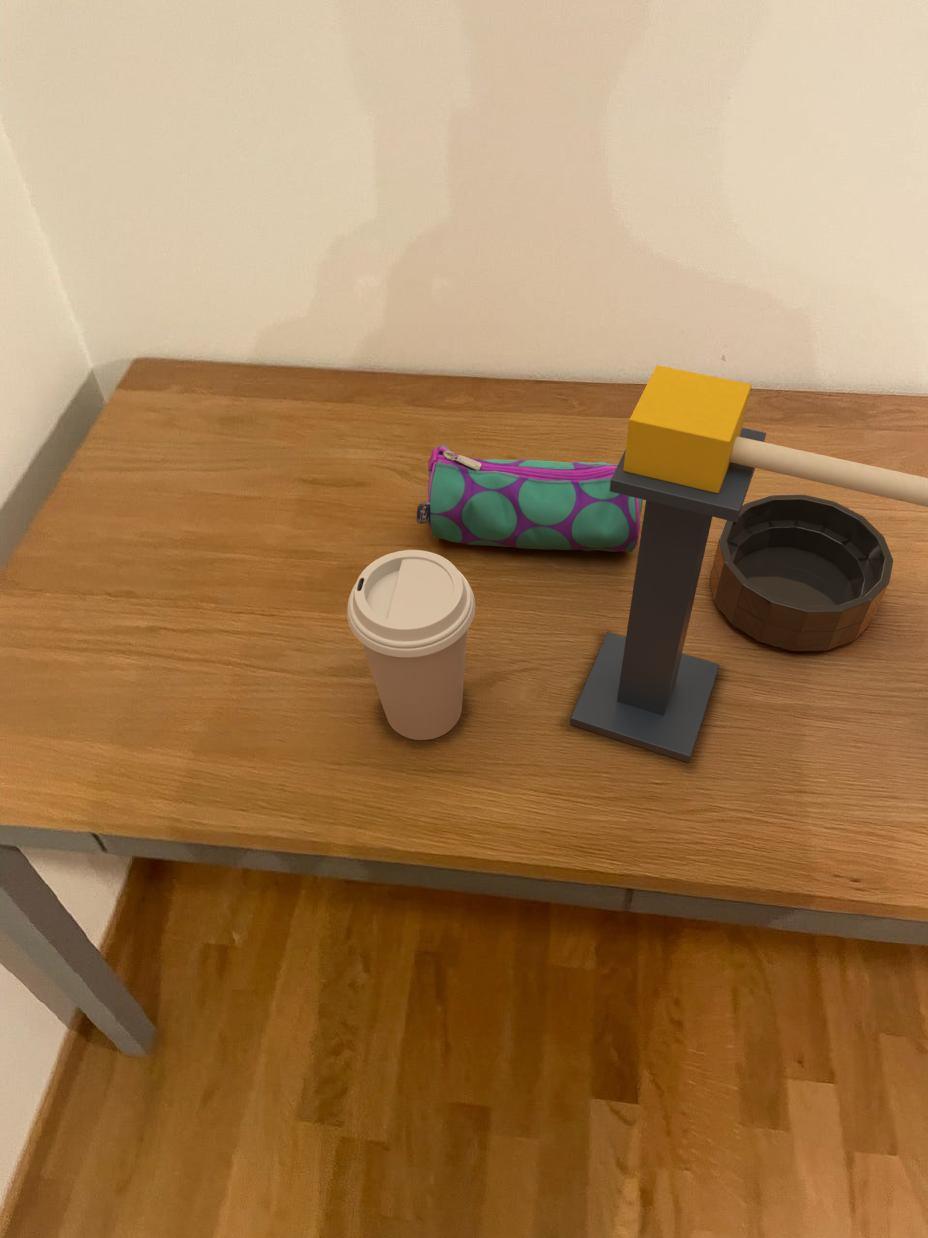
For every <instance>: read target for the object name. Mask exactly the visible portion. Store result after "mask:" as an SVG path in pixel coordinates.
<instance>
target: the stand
mask: <svg viewBox="0 0 928 1238" xmlns="http://www.w3.org/2000/svg"><path fill="white" fill-rule="evenodd" d="M740 437H742V438H747V439H751V440H756V441H761V442H766V437H767V432H765V431H762V430H761V431H760V430H756V429H752V428H747V427H743V426H742V430H741V434H740ZM625 451H626V448H625V450H624V452H623V453H622V455H621V457H620V459H619V461H618V463H617V465H618V466H617V468H616V470H615V472H614V474H613V476H612V478H611V480H610V490H609V491H610V492H614V493H618V494H622V495H626V496H630V497H634V498H638V499H643V501H645V504H644V511H643V518H642V524H641V525H642V526H641V531H640V539H639V547H638V551H637V552H638V553H637V559H636V566H635V573H634V580H633V586H632V593H631V601H630V607H629V615H628V622H627V629H626V636H623V635H620V634H616V633H613V632H610V631H607V632H606V634H605V637H604V639H603V641H602V644H601V646H600V648H599V651H598V653H597V655H596V657H595V660H594V662H593V664H592V667H591V669H590V672H589V674H588V676H587V679H586V681H585V683H584V685H583V688H582V690H581V692H580V695H579V697H578V700H577V702H576V704H575V707H574V709H573V712H572V714H571V716H570V723H569V725H571V726H573V727H577V728H580V729H582V730H586V731H589V732H592V733H594V734H598V735H601V736H605V737H608V738H609V739H610V738H611V739H613V740H617V741H620V742H623V743H626V744H629V745H631V746H635V747H638V748H642V749H644V750H647V751H651V752H654V753H657V754H660V755H663V756H666V757H669V758H672V759H675V760H678V761H681V762H684V763H687V764H689V763H690V761H691V758H692V755H693V751H694V749H695V746H696V743H697V738H698V736H699V733H700V729H701V727H702V724H703V720H704V717H705V714H706V710H707V707H708V705H709V701H710V698H711V694H712V692H713V689H714V685H715V682H716V679H717V676H718V673H719V669H720V663H716V662H713V661H710V660H706V659H703V658H699V657H696V656H693V655H688V654H685V653H683V651H684V647H685V644H686V638H687V633H688V630H689V626H690V625H689V624H690V620H691V615H692V611H693V606H694V602H695V597H696V593H697V588H698V584H699V579H700V575H701V570H702V566H703V562H704V557H705V552H706V548H707V543H708V539H709V535H710V530H711V525H712V521H713V518H716V519H720V520H725V521H726V520H728V521H732V522H737V520H738V517H739V514H740V511H741V508H742V505H743V504H744V503H745V499H746V496H747V493H748V491H749V488H750V485H751V482H752V479H753V477H754V474H755V470H756V468H754V467H749V466H745V465H740V464H736V463H732V462H730V464H729V467H728V469H727V472H726V475H725V477H724V480H723V483H722V486H721V488H720V491H719V493H713V492H709V491H705V490H701V489H697V488H692V487H688V486H684V485H680V484H676V483H671V482H667V481H663V480H659V479H655V478H650V477H646V476H642V475H638V474H634V473H629V472H625V471H624V470H623V469H624V460H625Z"/></svg>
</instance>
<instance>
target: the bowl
mask: <svg viewBox="0 0 928 1238" xmlns="http://www.w3.org/2000/svg"><path fill="white" fill-rule="evenodd" d="M893 565H894V558H893V556H892V553H891V550H890V548H889V546H888V543H887V541H886V537H884V535H883V534H882V533H881V532H880V531H879V530H878V529H877V528H876V527H875V526H874V525H872V523H871V522H869V520H868V519H867V518H866V517H865V516H863V515H862V514H860V513H857V512H856V511H854V510H851V509H850V508H848V507H846V506H844V505H842V504H840V503H838V502H836V501H834V500H829V499H825V498H821V497H817V496H812V495H809V494H804V493H803V494H798V493H797V494H770V495H767V496H764V497H761V498H757V499H755V500H752V501H748V502H744V503H743V505H742V508H741V511H740V514H739V517H738V520H737V522H732V521H728V520H725V521H724V524H723V527H722V529H721V533H720V535H719V537H718V542H717V546H716V550H715V554H714V558H713V562H712V567H711V570H710V575H709V585H710V589H711V593H712V598H713V602H714V604H715V605H716V606H717V608H718V609H719V610H720V611H721V613H722V614H723V615H724V616H725V618H726V619H727V620H728V622H729V623H730V624H731V625H732V626H734V628H737V629H738V630H740V631H741V632H743V633H745V634H747V635H748V636H749V637H751V638H753V639H754V640H755V641H757V642H759V643H762V644H765V645H770V646H773V647H776V648H780V649H784V650H788V651H790V652H821V651H822V652H825V651H829V650H832V649H834V648H837V647H840V646H843V645H845V644H849V643H851V642H853V641H856V639H857V638H858V637H859V636H860V635H861V634H862V633H863V632H864V631H865V630H866V629H867V628H868V627H869V626H870V625H871V624H872V622H873V619H874V618H875V616H876V613H877V611H878V609H879V607H880V605H881V602H882V600H883V599H884V595H885V593H886V591H887V590H888V587H889V585H890V581H891V576H892V571H893Z"/></svg>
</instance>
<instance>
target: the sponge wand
mask: <svg viewBox="0 0 928 1238" xmlns="http://www.w3.org/2000/svg"><path fill="white" fill-rule="evenodd" d="M751 390H752V384H751V383H747V382H742V381H738V380H733V379H732V380H731V379H728V378H722V377H717V376H712V375H708V374H703V373H697V372H693V371H687V370H683V369H678V368H672V367H668V366H663V365H659V364H657V365H656V366H655V368H654V369H653V372H652V374H651V375H650V377H649V379H648V381H647V382H646V386H645V388H644V390H643V392H642V393H641V396H639V400H638V401H637V403H636V405H635V407H634V409H633V412H632V413H631V415H630V417H629V419H628V425H627V426H628V427H627V434H626V435H627V436H626V443H625V449H626V451H625V450H624V451H625V460H624V469H623V470H624V471H625V472H629V473H634V474H638V475H642V476H646V477H650V478H655V479H659V480H663V481H667V482H671V483H676V484H680V485H684V486H688V487H692V488H697V489H701V490H705V491H709V492H713V493H719V491H720V488H721V486H722V483H723V480H724V477H725V475H726V472H727V469H728V467H729V464H730V462H732V463H736V464H740V465H745V466H749V467H754V468H755V469H758V470H762V471H768V472H772V473H776V474H781V475H785V476H790V477H793V478H798V479H802V480H807V481H811V482H816V483H820V484H825V485H829V486H833V487H837V488H842V489H847V490H850V491H855V492H859V493H864V494H867V495H868V494H869V495H873V496H877V497H881V498H886V499H890V500H893V501H894V500H895V501H899V502H902V503H903V502H904V503H907V504H913V505H917V506H921V507H925V508H928V477H925V476H922V475H921V476H920V475H915V474H910V473H908V472H901V471H898V470H894V469H888V468H884V467H879V466H875V465H870V464H865V463H860V462H857V461H851V460H847V459H842V458H838V457H833V456H829V455H824V454H820V453H815V452H810V451H807V450H801V449H798V448H797V449H796V448H794V447H793V448H792V447H788V446H784V445H779V444H774V443H769V442H766V441H764V442H761V441H756V440H751V439H747V438H742V437H740V434H741V430H742V427H743V425H744V421H745V416H746V412H747V408H748V404H749V399H750V396H751V395H750V394H751Z"/></svg>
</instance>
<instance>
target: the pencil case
mask: <svg viewBox="0 0 928 1238" xmlns="http://www.w3.org/2000/svg"><path fill="white" fill-rule="evenodd" d="M617 466H618V464H613V463H609V462H606V461H605V462H603V461H595V462H585V461H574V462H566V461H565V462H563V461H555V460H554V461H553V460H541V459H540V460H537V459H514V460H513V459H495V458H489V459H483V458H482V459H480V458H473V457H469V456H464V455H461V454H456V453H454V452H453V451H451V450H450V449H449V448H448V447H447V446H446V445H444V444H443V445H440V446H436V447H434V448H433V449H432V451H431V455H430V457H429V459H428V461H427V471H428V485H427V501H424V502H421V503H420V504H419V505H417V507H416V508H417V509H416V523H417V524H418V525H427V524H428V527H429V530H430V532H431V535H432V537H433V538H435V539H439V540H446V541H448V542H451V543H456V544H463V545H469V546H487V547H488V546H491V547H503V548H504V547H505V548H517V549H527V550H528V549H529V550H547V551H549V550H557V551H579V550H581V551H585V552H591V551H603V552H604V551H605V552H614V553H615V552H616V553H617V552H626V553H632V552H633V551H634V550H635V549H636V547H637V546H638V543H639V542H638V541H639V537H640V535H639V534H640V529H641V514H642V510H643V503H644V500H643V499H638V498H634V497H630V496H626V495H622V494H618V493H614V492H610V491H609V490H610V480H611V478H612V476H613V474H614V472H615V470H616V468H617ZM424 507H425V508H424Z"/></svg>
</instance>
